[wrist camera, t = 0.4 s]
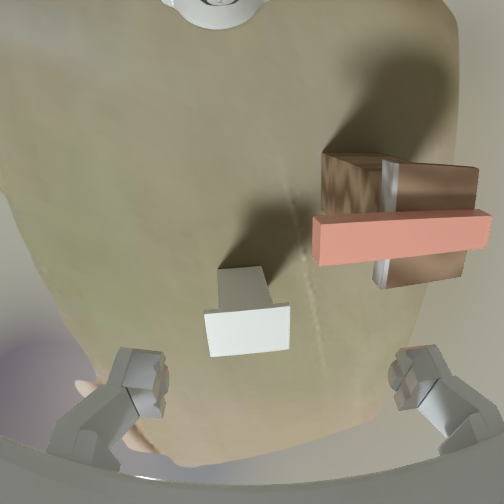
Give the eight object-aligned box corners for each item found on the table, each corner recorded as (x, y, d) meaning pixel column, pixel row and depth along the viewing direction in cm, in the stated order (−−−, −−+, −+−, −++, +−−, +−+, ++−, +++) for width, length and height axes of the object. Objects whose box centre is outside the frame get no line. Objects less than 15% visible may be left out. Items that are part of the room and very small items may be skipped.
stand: (205, 265, 58) (204, 314, 44) (272, 259, 59) (289, 306, 45) (210, 303, 61) (210, 356, 47) (272, 297, 62) (288, 349, 48)
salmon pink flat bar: (312, 215, 30) (320, 224, 27) (479, 209, 32) (492, 215, 29) (311, 255, 31) (319, 266, 29) (474, 239, 33) (486, 247, 31)
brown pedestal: (318, 141, 51) (393, 163, 28) (383, 143, 52) (478, 168, 29) (317, 220, 57) (380, 289, 34) (379, 216, 58) (460, 276, 35)
